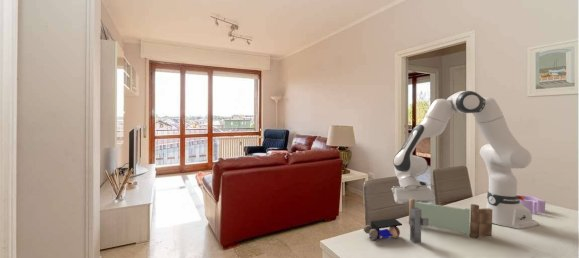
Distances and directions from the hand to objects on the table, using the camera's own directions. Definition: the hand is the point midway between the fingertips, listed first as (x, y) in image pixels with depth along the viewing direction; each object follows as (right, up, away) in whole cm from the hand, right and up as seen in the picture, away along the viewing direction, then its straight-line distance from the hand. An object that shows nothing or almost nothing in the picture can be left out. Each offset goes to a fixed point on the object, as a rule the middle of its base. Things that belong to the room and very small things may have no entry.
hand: (419, 210), depth 132 cm
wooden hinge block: (+19, -6, -17) cm, 26 cm away
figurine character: (-25, -7, -18) cm, 31 cm away
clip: (+68, -5, +19) cm, 71 cm away
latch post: (-11, -7, -22) cm, 25 cm away
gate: (+4, -5, -10) cm, 12 cm away
